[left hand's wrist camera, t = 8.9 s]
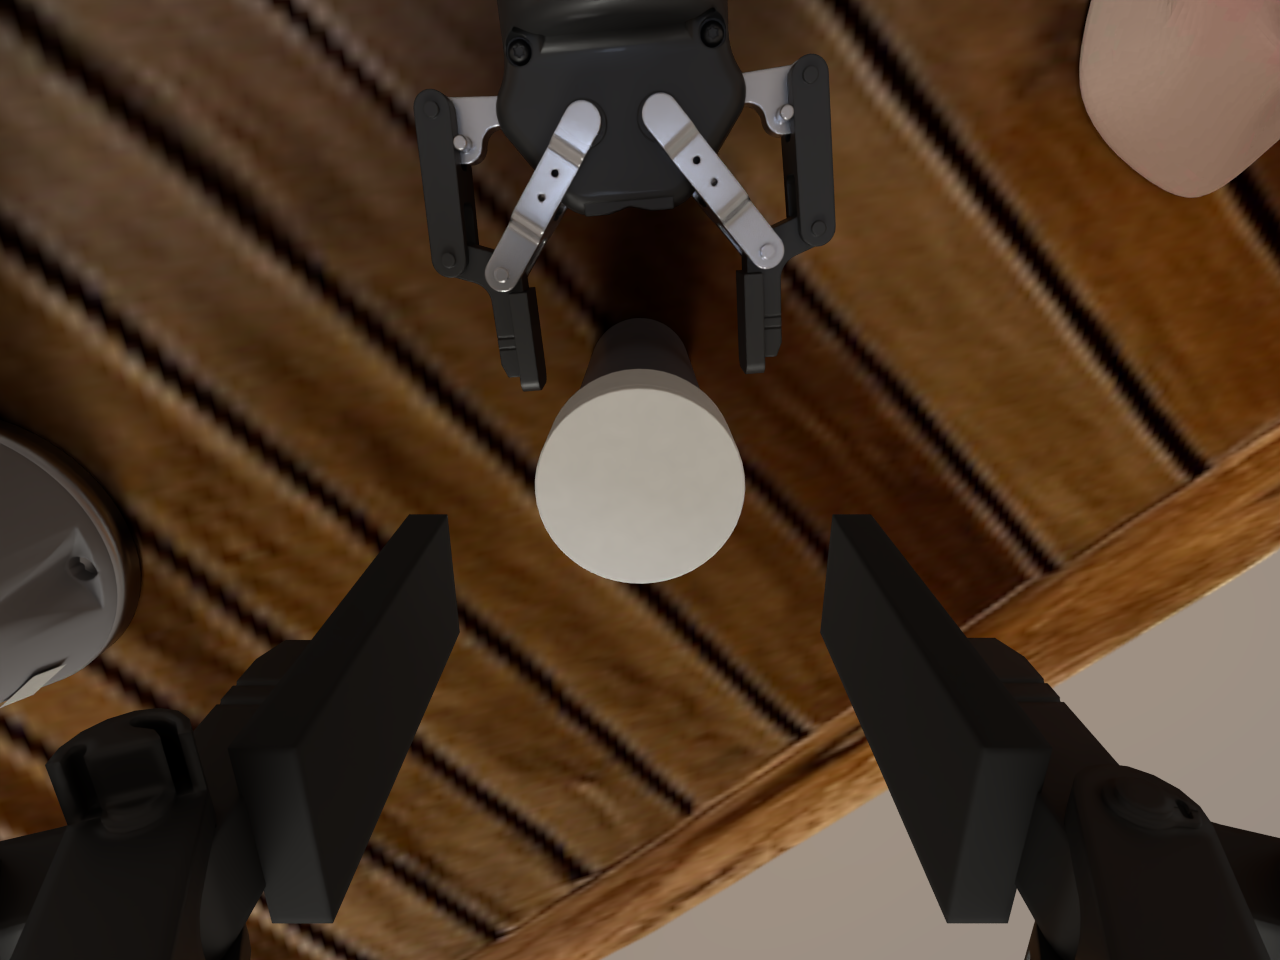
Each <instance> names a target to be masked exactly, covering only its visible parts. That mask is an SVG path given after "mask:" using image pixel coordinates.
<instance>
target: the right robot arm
mask: <svg viewBox="0 0 1280 960" xmlns="http://www.w3.org/2000/svg"><path fill="white" fill-rule="evenodd" d="M497 4H498V12H499V19H500V27H501V34H502V42H503V50H504V60H505V67H504V76H503V81H502V85H501V88H500V90H499V93H498V96H489V97H447V96H445V95H444V94H442V93H441V92H439V91H437V90H434V89H426V90H423V91H422V92H420V93H419V94H418V95H417V97H416V99H415V101H414V116H415V124H416V133H417V141H418V149H419V157H420V166H421V174H422V182H423V191H424V199H425V207H426V215H427V224H428V232H429V240H430V248H431V257H432V263H433V266H434V268H435V269H436V271H437V272H438V273H439V274H441V275H442V276H445V277H450V278H451V277H455V278H459V279H463V280H466V281H470V282H474V283H477V284H479V285H481V286H482V287H484V288H485V289H486V290H487V292H488V293H489V295H490V297H491V300H492V305H493V311H494V318H495V324H496V331H497V337H498V344H499V349H500V357H501V364H502V366H503V368H504V370H505V372H506V373H507V375H508V377H520V381H521V386H522V389H523V391H535V390H542V389H543V387H544V385H545V383H546V366H545V359H544V351H543V344H542V336H541V329H540V321H539V313H538V306H537V298H536V291H535V287H530V288H529V285H528V278H527V277H528V275H529V273H530V271H531V270H532V268H533V266H534V264H535V263H536V261H537V259H538V257H539V255H540V254H541V252H542V250H543V248H544V246H545V245H546V243H547V241H548V240H549V238H550V237H551V236H552V234H553V232H554V231H555V229H556V227H557V226H558V224H559V222H560V220H561V218H562V217H563V215H564V213H565V211H566V209H567V208H569V209H571V210H572V211H574V212H576V213H579V214H583V215H585V216H599V215H610V214H612V213H615V212H617V211H620V210H623V209H625V208H628V207H634V208H639V209H644V210H649V211H655V210H666V209H673V208H674V207H676V206H678V205H680V204H682V203H683V202H685V201H686V200H687V199H688V198H689V197H690V196H692V197H693V198H694V200H695V201H696V202H697V203H698V205H699V206H700V207H701V208H702V209H703V211H704V212H705V213H706V214H707V216H708V217H709V218H710V219H711V220H712V221H713V222H714V223H715V224H716V225H717V226H718V228H719V229H720V230H721V231H722V233H723V234H724V235H725V236H726V237H727V239H728V240H729V241H730V242H731V244H732V245H733V246H734V247H735V249H736V250H737V251H738V252H739V254H740V255H741V256H742V270H736V284H737V313H738V342H739V361H740V366H741V368H742V370H743V371H744V373H745V374H752V373H763V372H764V370H765V357H771V356H777V353H778V350H779V348H780V345H781V272H782V269H783V267H784V265H785V264H786V262H787V261H788V260H789V259H791V258H792V257H794V256H796V255H798V254H800V253H802V252H804V251H806V250H808V249H811V248H813V247H815V246H822V245H824V244H826V243H828V242H829V241H830V240H831V238H832V237H833V235H834V233H835V204H834V182H833V160H832V137H831V115H830V93H829V72H828V66H827V64H826V62H825V60H824V59H823V58H822V57H820V56H819V55H816V54H807V55H804V56H802V57H801V58H800V59H799V60H797V61H796V62H794V63H793V64H792V65H788V66H782V67H776V68H770V69H764V70H758V71H752V72H746V73H742V72H741V70H740V68H739V67H738V65H737V63H736V61H735V59H734V56H733V54H732V51H731V47H730V42H729V33H728V6H727V0H497ZM743 107H750V108H752V109H754V110H755V111H756V112H757V113H758V114H759V116H760V118H761V122H762V126H763V129H764V130H765V132H766V133H767V134H769V135H770V136H773V137H781V143H782V158H783V172H784V187H785V202H786V217H787V218H786V219H784V220H782V221H780V222H778V223H776V224H774V225H771V226H770V225H769V224H768V223H767V221H766V220H765V219H764V218H763V216H762V215H761V214H760V212H759V211H758V210H757V209H756V207H755V206H754V205H753V203H752V202H751V200H750V198H749V196H748V195H747V193H746V192H745V190H744V189H743V188H742V186H741V185H740V184H739V183H738V181H737V180H736V179H735V177H734V176H733V175H732V174H731V172H730V171H729V170H728V169H727V167H726V166H725V165H724V163H723V162H722V161H721V160H720V158H719V157H718V156H717V153H718V151H719V150H720V148H721V146H722V145H723V143H724V141H725V139H726V138H727V136H728V134H729V133H730V131H731V129H732V127H733V126H734V124H735V122H736V121H737V119H738V117H739V115H740V114H741V112H742V110H743ZM500 129H502V131H503V133H504V134H505V135H506V137H507V138H508V139H509V140H510V141H511V143H512V144H513V145H514V146H515V147H516V149H517V150H518V151H519V152H520V153H521V155H522V156H523V157H524V158H525V159H526V161H527V162H528V163H529V164H530V165H531V167H532V168H533V169H534V170H535V172H534V173H533V175H532V177H531V179H530V181H529V183H528V185H527V186H526V188H525V190H524V192H523V194H522V196H521V198H520V200H519V201H518V203H517V205H516V207H515V209H514V211H513V213H512V215H511V218H510V222H509V225H508V227H507V229H506V230H505V232H504V234H503V236H502V238H501V240H500V242H499V243H498V245H497V247H496V249H495V250H494V249H491V248H487V247H484V246H480V245H479V240H478V229H477V219H476V209H475V199H474V188H473V178H472V168H471V165H477V164H479V163H481V162H482V161H483V160H484V158H485V157H486V154H487V145H488V141H489V138H490V137H491V135H492V134H493V133H494V132H496V131H497V130H500Z"/></svg>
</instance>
